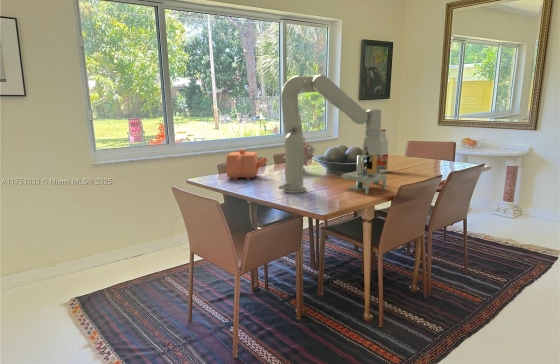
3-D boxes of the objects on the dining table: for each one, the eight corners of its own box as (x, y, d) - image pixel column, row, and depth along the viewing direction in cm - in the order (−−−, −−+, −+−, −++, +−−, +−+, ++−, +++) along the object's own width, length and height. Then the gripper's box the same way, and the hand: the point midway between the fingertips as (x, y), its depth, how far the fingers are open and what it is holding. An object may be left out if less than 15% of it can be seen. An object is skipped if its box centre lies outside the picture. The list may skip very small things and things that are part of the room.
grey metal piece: (367, 194, 192) (368, 159, 188) (341, 188, 205) (342, 156, 201) (385, 189, 202) (387, 156, 198) (360, 183, 215) (361, 153, 211)
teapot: (270, 173, 247) (269, 147, 243) (265, 181, 225) (265, 152, 221) (233, 173, 249) (232, 147, 245) (225, 181, 227) (223, 152, 223)
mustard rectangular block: (366, 172, 198) (367, 150, 196) (370, 171, 200) (371, 149, 198) (372, 173, 196) (373, 151, 193) (376, 172, 198) (377, 150, 195)
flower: (271, 170, 251) (279, 139, 237) (293, 162, 265) (302, 132, 251) (291, 186, 241) (301, 155, 227) (313, 177, 255) (324, 147, 241)
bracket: (363, 187, 206) (364, 169, 204) (359, 187, 208) (360, 168, 206) (378, 183, 215) (379, 166, 212) (375, 183, 217) (376, 165, 214)
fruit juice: (387, 170, 252) (389, 128, 246) (386, 173, 243) (388, 130, 237) (373, 169, 255) (375, 128, 249) (371, 172, 247) (373, 129, 240)
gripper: (376, 131, 201) (375, 165, 205) (356, 134, 191) (355, 169, 195) (388, 132, 196) (387, 167, 200) (368, 135, 185) (367, 171, 190)
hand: (371, 167), depth 197 cm, fingers closed on mustard rectangular block, 3 cm apart
